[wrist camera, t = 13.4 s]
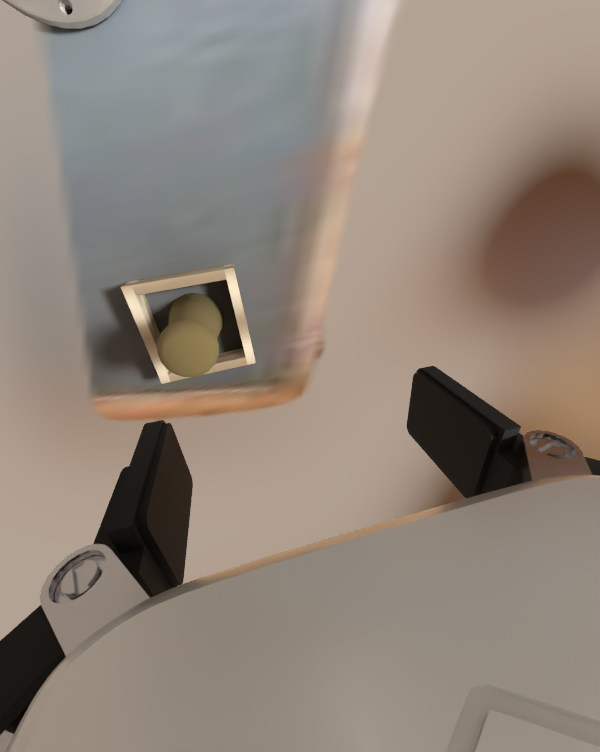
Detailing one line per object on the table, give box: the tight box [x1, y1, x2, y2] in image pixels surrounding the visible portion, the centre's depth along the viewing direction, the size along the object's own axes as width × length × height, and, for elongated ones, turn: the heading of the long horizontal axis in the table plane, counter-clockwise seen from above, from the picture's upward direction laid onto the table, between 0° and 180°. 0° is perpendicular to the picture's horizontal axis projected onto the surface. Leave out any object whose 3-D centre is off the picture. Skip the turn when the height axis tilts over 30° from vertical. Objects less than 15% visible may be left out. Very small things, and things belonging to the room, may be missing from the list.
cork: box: [157, 293, 223, 377], centre depth 29 cm, size 6×6×11 cm
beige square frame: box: [121, 264, 256, 383], centre depth 33 cm, size 11×11×3 cm
